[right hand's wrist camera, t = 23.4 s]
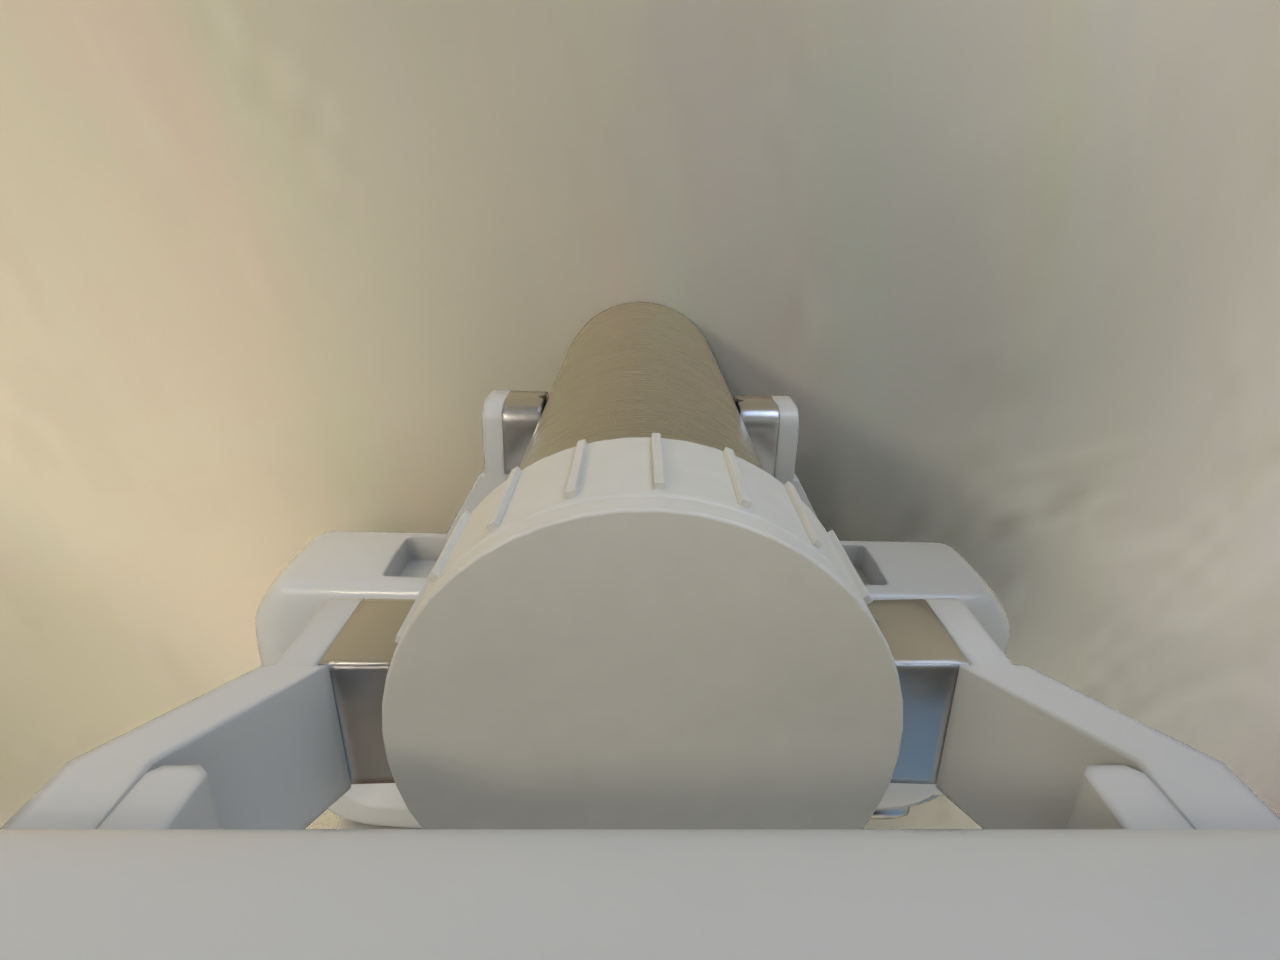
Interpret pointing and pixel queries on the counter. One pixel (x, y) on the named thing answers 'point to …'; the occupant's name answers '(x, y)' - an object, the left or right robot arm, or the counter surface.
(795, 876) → the right robot arm
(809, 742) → the lid
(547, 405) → the jar
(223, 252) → the counter surface
